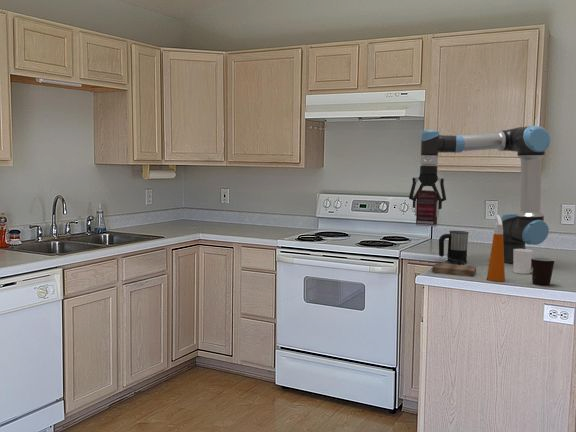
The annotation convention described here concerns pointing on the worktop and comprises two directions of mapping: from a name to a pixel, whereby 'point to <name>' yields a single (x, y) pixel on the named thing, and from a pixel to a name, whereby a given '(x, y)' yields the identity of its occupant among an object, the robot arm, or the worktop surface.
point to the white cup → (522, 260)
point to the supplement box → (426, 208)
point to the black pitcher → (455, 246)
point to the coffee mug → (542, 270)
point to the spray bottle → (497, 254)
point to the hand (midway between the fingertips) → (426, 215)
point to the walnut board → (454, 269)
